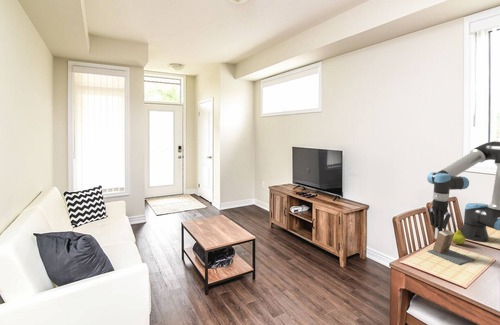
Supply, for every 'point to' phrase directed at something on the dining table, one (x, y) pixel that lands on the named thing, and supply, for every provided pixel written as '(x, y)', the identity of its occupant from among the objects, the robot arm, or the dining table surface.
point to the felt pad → (452, 256)
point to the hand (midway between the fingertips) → (437, 238)
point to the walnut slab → (443, 241)
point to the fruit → (458, 237)
